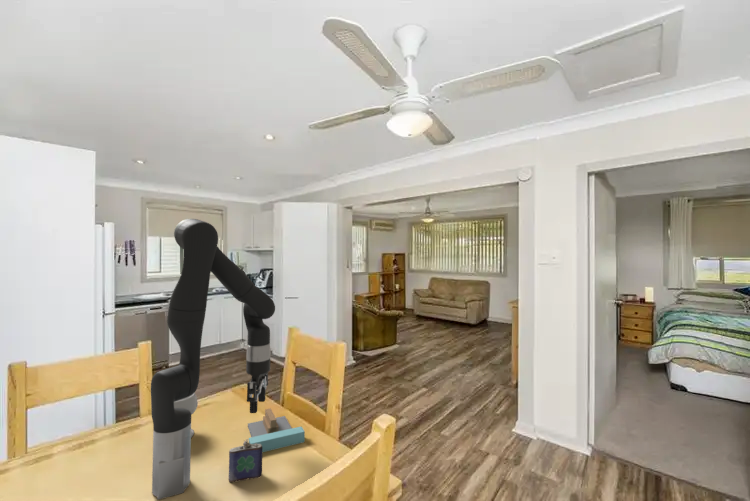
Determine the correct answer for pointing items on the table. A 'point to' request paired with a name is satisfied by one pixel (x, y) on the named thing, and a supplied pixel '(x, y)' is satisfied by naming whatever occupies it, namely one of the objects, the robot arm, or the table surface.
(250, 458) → the flask
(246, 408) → the table surface
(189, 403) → the chalice
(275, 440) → the batten
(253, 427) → the fulcrum
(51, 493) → the table surface
